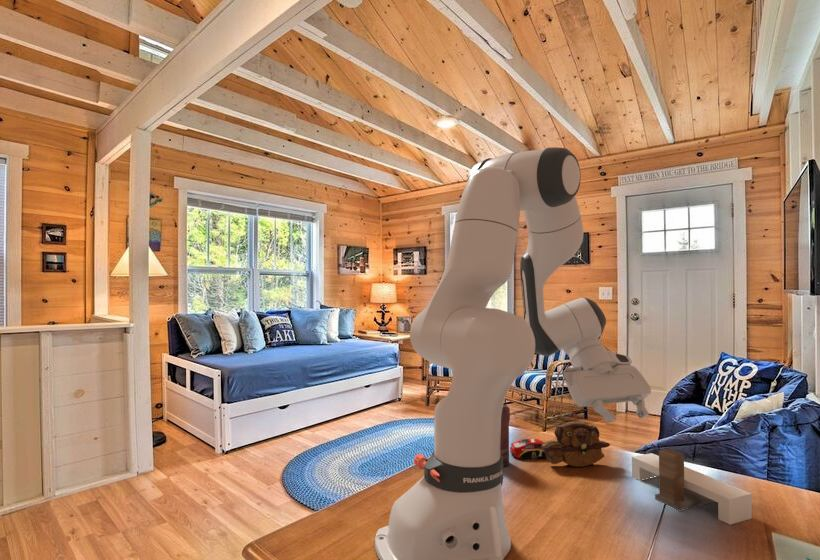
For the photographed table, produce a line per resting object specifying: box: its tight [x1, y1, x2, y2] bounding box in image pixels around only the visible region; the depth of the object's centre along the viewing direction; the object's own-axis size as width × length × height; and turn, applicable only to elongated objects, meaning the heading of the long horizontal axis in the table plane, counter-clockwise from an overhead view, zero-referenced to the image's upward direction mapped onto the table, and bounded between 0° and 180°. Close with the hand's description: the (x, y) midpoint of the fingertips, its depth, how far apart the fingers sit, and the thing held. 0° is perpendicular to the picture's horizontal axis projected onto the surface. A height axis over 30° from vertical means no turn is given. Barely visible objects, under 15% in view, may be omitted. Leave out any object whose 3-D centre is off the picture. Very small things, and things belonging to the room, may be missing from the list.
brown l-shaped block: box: [654, 448, 716, 512], centre depth 87 cm, size 12×5×10 cm, turn 111°
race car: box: [509, 438, 547, 460], centre depth 111 cm, size 13×5×4 cm, turn 93°
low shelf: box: [631, 452, 753, 525], centre depth 89 cm, size 6×21×4 cm, turn 21°
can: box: [500, 403, 511, 468], centre depth 106 cm, size 6×6×14 cm
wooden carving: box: [542, 421, 611, 468], centre depth 104 cm, size 16×5×10 cm, turn 101°
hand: (628, 418), depth 95 cm, fingers open, 8 cm apart
